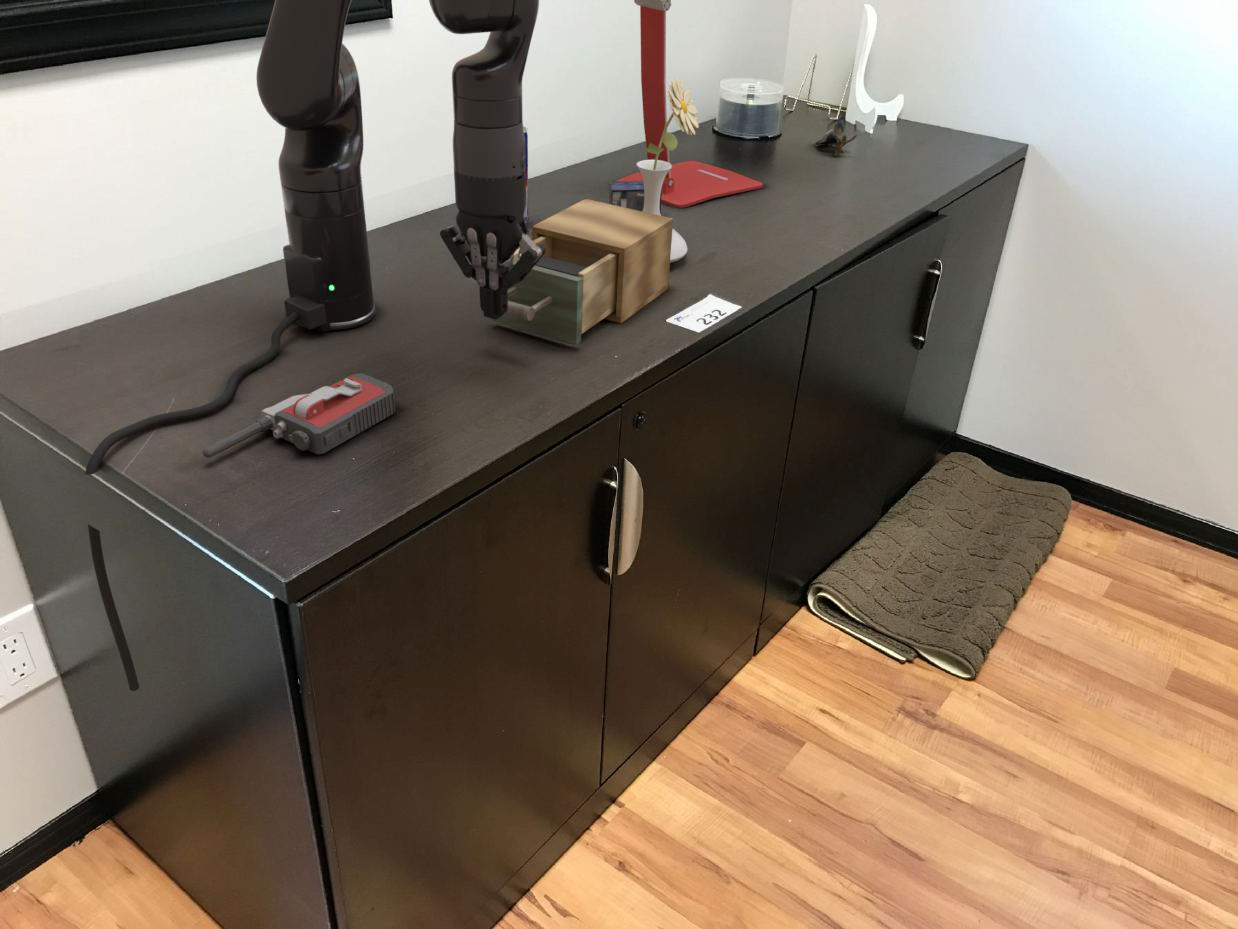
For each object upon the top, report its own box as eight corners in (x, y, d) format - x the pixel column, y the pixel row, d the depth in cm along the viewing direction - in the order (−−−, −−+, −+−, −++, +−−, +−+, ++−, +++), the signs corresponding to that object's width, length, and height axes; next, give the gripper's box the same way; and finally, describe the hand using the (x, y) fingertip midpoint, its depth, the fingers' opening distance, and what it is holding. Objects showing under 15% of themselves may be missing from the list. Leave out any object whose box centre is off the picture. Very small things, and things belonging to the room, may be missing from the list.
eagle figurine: (864, 151, 198) (852, 130, 205) (851, 122, 194) (839, 102, 200) (828, 170, 200) (817, 149, 207) (815, 142, 196) (804, 121, 202)
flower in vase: (652, 278, 142) (664, 95, 128) (593, 256, 148) (600, 79, 135) (709, 256, 150) (726, 82, 137) (651, 235, 156) (662, 67, 143)
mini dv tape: (610, 221, 161) (611, 184, 158) (608, 218, 162) (610, 181, 159) (659, 219, 163) (662, 183, 159) (657, 216, 164) (660, 180, 161)
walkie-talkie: (349, 385, 112) (199, 462, 98) (345, 349, 110) (190, 423, 95) (408, 408, 108) (260, 493, 94) (405, 372, 106) (253, 453, 92)
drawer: (550, 363, 117) (551, 297, 112) (463, 337, 122) (461, 273, 117) (625, 309, 130) (628, 249, 126) (545, 288, 135) (545, 228, 131)
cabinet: (620, 323, 129) (624, 248, 124) (532, 298, 134) (531, 226, 129) (668, 288, 139) (673, 218, 134) (583, 267, 144) (585, 198, 139)
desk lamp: (804, 175, 187) (839, -67, 165) (658, 217, 164) (677, -57, 142) (732, 152, 197) (756, -78, 176) (586, 188, 175) (592, -71, 153)
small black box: (575, 320, 125) (576, 274, 121) (526, 306, 127) (526, 262, 124) (587, 311, 127) (588, 267, 124) (538, 298, 129) (539, 254, 126)
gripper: (416, 161, 105) (427, 314, 114) (522, 184, 100) (525, 342, 109) (459, 145, 110) (466, 292, 120) (562, 166, 105) (561, 317, 115)
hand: (494, 315), depth 114 cm, fingers closed
